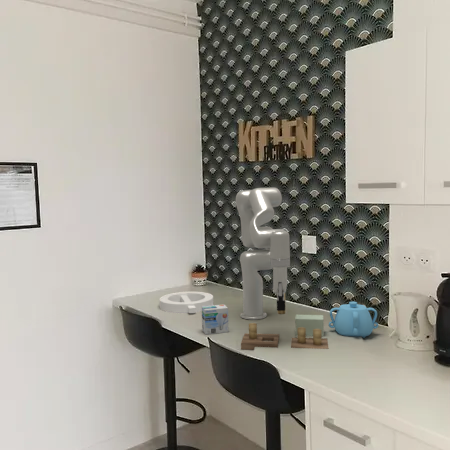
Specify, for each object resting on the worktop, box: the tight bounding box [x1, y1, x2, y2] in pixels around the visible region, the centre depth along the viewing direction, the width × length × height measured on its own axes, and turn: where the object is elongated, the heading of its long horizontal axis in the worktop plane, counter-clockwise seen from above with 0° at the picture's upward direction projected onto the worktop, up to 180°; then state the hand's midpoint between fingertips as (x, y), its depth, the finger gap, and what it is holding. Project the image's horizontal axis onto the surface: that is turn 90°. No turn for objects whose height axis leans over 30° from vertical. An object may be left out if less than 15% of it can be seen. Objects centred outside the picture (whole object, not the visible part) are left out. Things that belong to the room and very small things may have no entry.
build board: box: [240, 322, 280, 351], centre depth 193 cm, size 12×14×8 cm
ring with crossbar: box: [159, 291, 214, 314], centre depth 257 cm, size 28×28×5 cm
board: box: [290, 327, 330, 350], centre depth 190 cm, size 12×14×7 cm
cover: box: [294, 314, 325, 337], centre depth 201 cm, size 7×11×8 cm, turn 80°
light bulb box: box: [201, 304, 230, 335], centre depth 212 cm, size 11×7×11 cm, turn 106°
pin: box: [276, 292, 287, 315], centre depth 192 cm, size 3×3×8 cm
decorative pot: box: [328, 301, 379, 339], centre depth 202 cm, size 16×16×14 cm
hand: (281, 308), depth 192 cm, fingers closed on pin, 3 cm apart
